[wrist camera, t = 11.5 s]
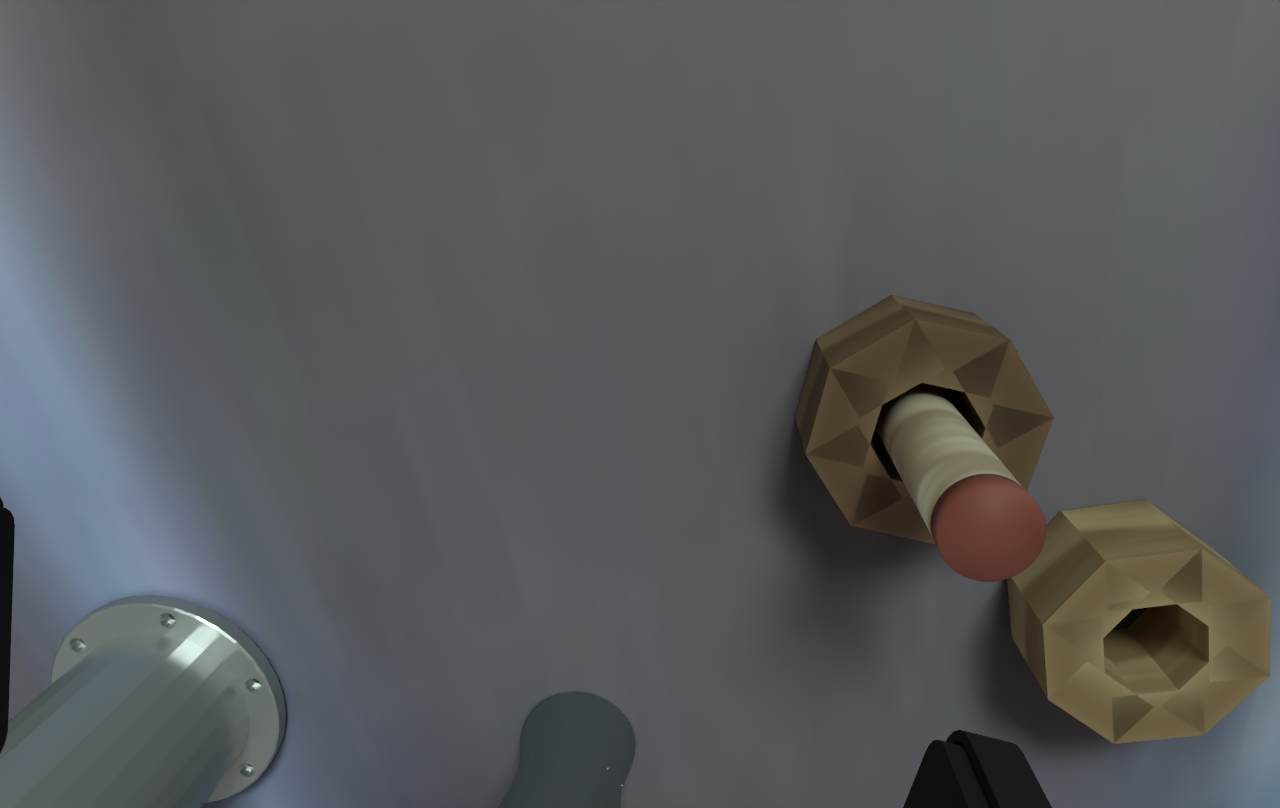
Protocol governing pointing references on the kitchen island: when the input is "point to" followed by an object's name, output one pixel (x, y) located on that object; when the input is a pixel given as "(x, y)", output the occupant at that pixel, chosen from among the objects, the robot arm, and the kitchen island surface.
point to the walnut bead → (889, 366)
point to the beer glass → (572, 755)
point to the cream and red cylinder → (961, 487)
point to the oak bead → (1138, 624)
